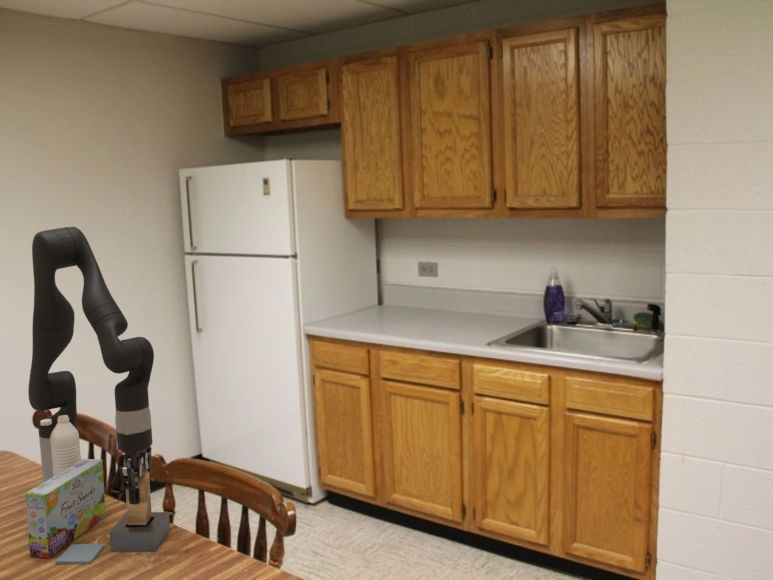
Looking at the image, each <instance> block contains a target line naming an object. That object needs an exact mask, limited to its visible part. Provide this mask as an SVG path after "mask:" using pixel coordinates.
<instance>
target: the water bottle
mask: <svg viewBox="0 0 773 580" xmlns="http://www.w3.org/2000/svg"><path fill="white" fill-rule="evenodd" d="M57 421H58V423H57V425H56V427H55V428H54V430H53V431H52V433H51V436H50V442H51V449H52V450H51V452H52V462H53V463H52V464H53V474H54V476H55V475H57V474H59V473H60V472H62V471H64V470H66V469H67V468H69V467H71V466H72V465H74V464H76V463H78V462H79V461H81V460H82V459H81V458H82V457H81V449H80V448H81V447H80V434H79V430H78V431H77V429H78V428H77V429H76V428H75V427H74V426H73V425H72V424H71V423H70V422H69V418H68V415H61V416H59V417H58V420H57ZM39 422H40V423H39V425H40V424H41V426H46V425H50V424H52V420H51V419H48V418H44V419H41V420H40V421H39ZM49 423H50V424H49ZM42 424H46V425H42Z"/></svg>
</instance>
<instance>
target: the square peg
mask: <svg viewBox="0 0 773 580" xmlns="http://www.w3.org/2000/svg"><path fill="white" fill-rule="evenodd" d="M137 473H138V472H133V474H137ZM134 479H135V478H134ZM150 483H151V482H150V473H149V471H145V472H142V476H141V477H140V478H139V493H140V503H139V504H130V503H129V490H128V489H125V498H126V499H125V500H126V513H127V517H128V525H146V524H147V522H148V521H149V520H150V519H151V517H152V502H151V501H152V499H151V484H150Z"/></svg>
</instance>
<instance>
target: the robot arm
mask: <svg viewBox="0 0 773 580" xmlns="http://www.w3.org/2000/svg"><path fill="white" fill-rule="evenodd" d="M31 252H32V253H31V256H32V269H33V270H32V271H33V293H34V295H33V298H34V300H33V312H32V330H31V331H32V333H31V334H32V355H31V364H30V373H29V379H28V388H27V389H28V390H27V391H28V394H27V395H28V400H29V404H30V406H31V408H32V409H33V410H34V411H49V410H53V409H59V410H58V411H57V412H56V413H54V414H53V415H52V416H50V417H48V418H47V419H51V420H52V424H50V423H49V424H50V425H46V424H42V425H46V426H41V424H40V423H39V425H38V437H39V450H40V459H41V460H40V461H41V462H40V463H41V474H42V483H43V482H45V481H47V480H48V479H50V478H52V477H54V474H53V464H52V463H53V462H52V452H51V450H52V449H51V442H50V436H51V433H52V431H53V430H54V428H55V427H56V425H57V423H58V421H57V420H58V417H59V416H61V415H68V418H69V422H70V423H71V424H72V425H73V426H74V427H75V428H76V429H77V431H78V432H79V430H78V411H77V409H78V408H77V383H76V379H75V377H74V375H73V373H72V371H69V370H61V371H55V372H50V369H51V368H52V365H54V362H55V361H57V359H58V358H59V357H60V356H61V354H62V353H64V351H65V350H66V348H67V347H68V345H69V344H70V343H71V341H72V339H73V336H74V330H75V329H74V328H75V311H74V308H73V306H72V304H71V303H70V302H69V300H68V299H67V298H66V297H65V296H64V294H63V293H62V292H61V291H60V289H59V288H58V286H57V284H56V272H57V270H59V269H66V268H70V267H75V266H76V267H77V268H78V269H79V271H80V273H81V275H82V278H83V286H82V287H83V288H82V294H81V306H82V308H81V309H82V311H83V314H84V316H85V318H86V319H87V321H88V322H89V324H90V326H91V327H92V329H93V331H94V332H95V334H96V337H97V341H98V344H99V348H100V352H101V357H102V361H103V363H104V365H105V367H106V368H107V370H109V371H110V372H112V373H113V374H124V373H128V375H127V377H126V378H125V379H122V380H121V381H119V382H117V384H116V385H115V387H114V402H115V403H114V405H115V419H114V421H115V436H116V437H115V439H116V446H117V447H116V448H117V449H118V450H119V452H123V453H124V458H123V466H120V467H119V468H118V473H119V477H120V480H121V481H120V482H121V485H122V488H123V490H126V489H128V490H129V503H130V504H139V503H140V493H139V478H140V477H141V476H142V472H145V471H149V474H150V472H151V467H152V466H151V465H152V464H151V463H152V450H153V449H152V445H153V431H152V430H153V429H152V416H151V415H152V413H151V410H150V401H149V383H150V381H151V375H152V370H153V366H154V361H155V353H154V352H155V351H154V349H153V345H152V344H151V342H150V340H149V339H147V338H146V337H143V336H135V337H129V338H127V339H121V340H120V338H119V337H120V336H121V335H123V334H124V333H125V332H126V330H128V327H129V323H128V321H127V318H126V317H125V315H124V313H123V312H122V310H121V308H120V307H119V306H118V304H117V302H116V301H115V299H114V297H113V295H112V294H111V292H110V291H109V288H108V286H107V284H106V281H105V279H104V275H103V273H102V271H101V269H100V265H99V264H98V261H97V259H96V257H95V254H94V252H93V250H92V248H91V245H90V243H89V240H88V239H87V237H86V236H85V234H84V233H83V232H82V230H81V229H79V228H78V227H76V226H65V227H58V228H54V229H47V230H45V229H44V230H42V231H38V232H37V233H35V235H34V236H33V239H32V245H31ZM133 472H138V473H137V474H133ZM134 478H135V479H134Z"/></svg>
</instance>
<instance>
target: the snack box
mask: <svg viewBox="0 0 773 580" xmlns="http://www.w3.org/2000/svg"><path fill="white" fill-rule="evenodd" d="M103 462H104V461H103V459H93V458H83V459H81V461H79V462H78V463H76V464H74V465H72V466H71V467H69V468H67V469H66V470H64V471H62V472H60V473H59V474H57V475H55V476H54V477H52V478H50V479H48V480H47V481H45V482H43V481H42V483H40V484H38V485H36V486H35V487H33V488H31V489H29V490H28V491H26V492H25V502H26V515H27V520H26V521H27V531H28V533H27V534H28V546H29V557H33V558H34V557H35V558H41V559H51V558H52V557H53V556H55V555H56V554H57V553H59V552H60V551H61V550H63V549H64V548H65V547H67V546H68V545H70V544H71V543H72V542H73V541H75V540H76V539H78V538H79V537H80V536H82V535H83V534H85V533H86V532H87V531H89V530H90V529H91V528H93V527H94V526H96V524H98V523H99V522H101V521H102V520H103V519H105V518H106V498H105V486H104V485H105V481H104V463H103Z"/></svg>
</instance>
